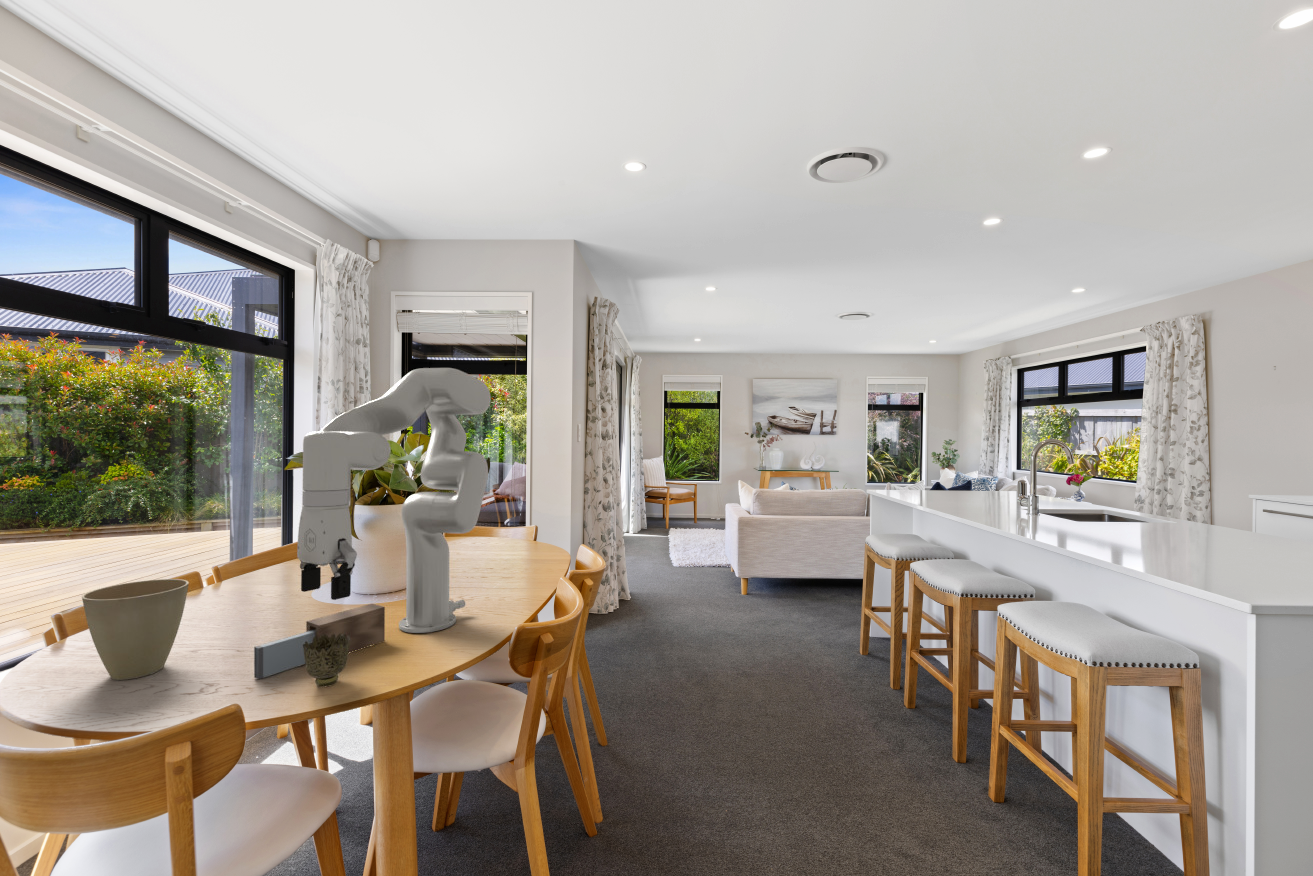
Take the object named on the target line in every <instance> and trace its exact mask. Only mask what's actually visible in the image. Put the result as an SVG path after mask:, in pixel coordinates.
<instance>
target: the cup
mask: <svg viewBox="0 0 1313 876" xmlns="http://www.w3.org/2000/svg"><path fill="white" fill-rule="evenodd" d="M349 644H350V638H349V636H348V637H346V635H345V634H344V635H342V634H341V633H340V634H339V635H338V636H337V638H336V637H335V634H332V635H331V638H330V637H328V636H327V635H325V634H323V635H322V636H320V637H319V638H317V637H314V638H313V641H312V643H309V644H308V642H307V641H305V644H303V649H304V657H305V664H304V665H305V668H306V671H307V673H308V675H309V676H311V677H312V678H314V679H315V680H314V681H315V682H314V683H315V685H316V686H318V687H321V688H323V687H324V688H325V686H326V687H329V686H332V685H334V684H336V683H337V682H338V680H339V679H340V678H339V674H340V673H341V672H343V670H344V669H345V668H346V666H347V662H348V657H349V654H348V652H349Z"/></svg>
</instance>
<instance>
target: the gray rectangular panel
mask: <svg viewBox="0 0 1313 876" xmlns="http://www.w3.org/2000/svg"><path fill="white" fill-rule="evenodd" d="M314 637H316V629H315V630H311V631H308V632H306V631H305V632H302V633H298V634H294V635H291V636H288V637H287V636H286V637H284V638H281V639H278V640H277V639H276V640H274V641H270V642H267V643H263V644H259V645H255V646H254V651H253V652H254V653H253V655H254V656H253V657H254V660H253V663H254V664H253V665H254V666H253V667H254V668H253V669H254V670H253V671H254V672H253V673H254V674H253V676H254V677H253V678H255V679H256V680H260V679H264V678H266V677H270V676H273V675H275V674H278V673H281V672H284V671H288V670H291V669H295V668H297V667H300V666H303V665H306V664H305V657H304V649H303V644H305V641H307V642H308V644H309V643H312V641H313V638H314Z"/></svg>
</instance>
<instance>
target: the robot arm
mask: <svg viewBox="0 0 1313 876" xmlns="http://www.w3.org/2000/svg"><path fill="white" fill-rule="evenodd" d="M490 405H491V393H490V389H489V387H488V386H487V385H486V384H485V382H483V381H482V380H481V379H478V378H477V377H474V376H472V375H470V373H469V374H468V372H464V371H462V370H460V369H457V368H452V367H430V368H429V367H423V368H416V369H413V370H411V371H409V372H408V373H406V374H405V375H404V376H403V377H402V378H400V380H398V381H397V382H396V383H395V384H394V385H393V386H392V387H390V388H389V390H387V391H386V392H385V393H384V394H383V395H382V396H380V397H378V398H377V399H376V398H375V399H374V400H371V401H368V402H366V403H364V404H361V405H359V406H357V407H354V408H352V409H350V410H347V411H345V412H343V413H342V414H340V415H338V416H336V417H334V418H333V419H332V420H331V421H330V422H328V423H327V424H326V425H325V426H324V427H323V428H321V430H319V431H311V432H308V433H307V434H305V436H304V437H303V441H302V442H303V443H302V494H301V495H302V500H301V502H302V503H301V504H302V505H301V512H300V516H299V523H298V533H297V534H298V535H297V544H296V545H297V550H296V551H297V552H296V554H297V555H296V557H297V559H298V560H299V561H300V563H299V568H300V570H301V572H300V573H301V574H300V579H301V580H300V583H301V585H300V591H301V592H309V591H315V590H319V589H320V588H321V585H322V584H321V580H322V579H321V575H322V574H321V571H322V570H321V567H326V566H328V565H329V568H330V569H331V572H332V574H333V575H332V576H331V577H330V579H331V580H330V600H334V601H336V600H339V599H345V598H348V597H350V596H351V595H352V594H351V590H352V587H351V586H352V582H351V579H352V575H353V570H354V568H355V566H356V564H355V563H356V559H357V557H358V553H357V551H356V550H355V549H354V548H353V546H352V545H353V541H352V540H353V538H352V537H353V536H352V523H351V522H352V520H351V513H350V507H351V479H352V478H351V474H352V473H351V472H352V471H351V470H355V471H372V470H376V469H378V468H381V467H382V466H384V465H385V464H386V463H387V462H388V460H389V459H390V456H391V444H390V442H389V441H388V440H387V438H386V437H385V436H384V435H390V434H393V433H398V432H401V431H403V430H406V429H409V428H410V427H411V426H413V425H414V424H415V422H416V421H417V420H418V419H419V418H420V417H421V416H422V415H423V414H424V413H425V412H426V416H427V417H428V420H429V423H430V428H431V429H430V430H431V434H430V439H429V442H428V446H427V448H426V449H427V450H426V453H425V455H424V458H423V461H422V465H421V470H420V481H421V483H422V484H423V485H424V486H425V487H427V488H429V489H433V490H447V491H448V490H449V491H457V492H445V491H421V492H420V491H419V492H416V493H413V494H411V495H409V496H408V497H407V498H406V499H405V500H404V502H403V503H402V507H401V519H402V526H403V528H404V534H405V535H404V536H405V546H406V547H405V549H406V559H405V560H406V563H405V565H406V566H405V567H406V568H405V569H406V578H405V579H406V582H405V583H406V591H405V592H406V593H405V595H406V596H405V597H406V598H405V599H406V602H405V603H406V605H405V606H406V607H405V609H406V610H405V612H406V615H405V617H404V618H402V619H401V620H400V621H399V622H398V628H399V630H400V631H402V632H405V633H413V634H423V633H424V634H425V633H433V632H438V631H442V630H445V629H448V628H450V627H451V626H452V627H453V625H454V624H456V622H457V616H456V614H454V612H455V611H456V610H459V609H463V608H465V606H466V601H465V600H464V599H460V600H457V601H454V600H453V599H452V600H450V547H449V544H448V542H447V541H448V540H447V539H446V537H445V536H444V534H467V533H469V532H471V531H472V530H474V528H475V527H476V525H477V523H478V519H479V517H480V516H479V515H480V513H481V508H482V504H483V501H484V500H483V499H484V495H485V491H486V488H487V483H488V478H489V467H488V463H487V462H488V461H487V459H486V458H485V457H484V455H482V454H481V453H479V452H476V451H466V450H465V449H466V443H467V434H466V431H465V428H464V427H463V426H462V424H461V423H460V421H459V419H458V418H457V417H456V416H459V415H461V416H462V415H463V416H464V415H466V416H467V415H468V416H469V415H470V416H473V415H475V416H476V415H481V414H483V413H485V412H486V411H487V410H488V409H489V407H490ZM338 565H340V566H338Z"/></svg>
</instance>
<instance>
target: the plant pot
mask: <svg viewBox="0 0 1313 876" xmlns="http://www.w3.org/2000/svg"><path fill="white" fill-rule="evenodd" d="M189 584H190V583H189V581H188V580H186V579H181V578H180V579H179V578H163V579H161V578H160V579H150V580H149V579H147V580H140V581H132V582H124V583H119V584H114V585H109V586H105V587H101V588H98V589H94V590H92V591H88V592H86V593H84V594H83V595H82V596H81V600H82V604H83V609H84V613H85V619H86V623H87V627H88V630H89V633H90V636H91V639H92V642H93V644H94V646H95V650H96V652H97V654H98V656H99V658H100V660H101V662H102V664H103V666H104V667H105V668H104V669H106V672H107V673H108V675H109V677H110V678H111V679H113V680H116V681H123V680H126V681H127V680H133V679H137V678H141V677H142V678H143V677H145V676H149V674H150V675H152V674H155V673H157V672H158V671H160V670H162V669H164V667H165V664H166V663H167V660H168V658H169V655H170V653H171V651H172V648H173V645H174V644H175V643H174V642H175V640H176V637H177V634H178V631H179V627H180V625H181V622H182V619H183V614H184V610H185V607H186V605H185V604H186V600H187V595H188V591H189V590H188V589H189Z"/></svg>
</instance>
